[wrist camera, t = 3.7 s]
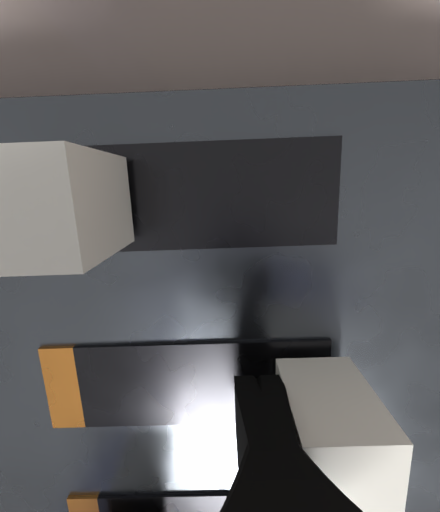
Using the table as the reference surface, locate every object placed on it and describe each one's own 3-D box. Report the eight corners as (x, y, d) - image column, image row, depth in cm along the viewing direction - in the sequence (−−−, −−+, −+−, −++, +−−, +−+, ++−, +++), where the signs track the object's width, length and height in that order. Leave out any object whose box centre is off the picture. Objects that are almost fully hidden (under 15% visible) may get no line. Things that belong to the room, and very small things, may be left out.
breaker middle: (344, 418, 11) (402, 529, 7) (275, 420, 11) (300, 531, 7) (348, 356, 10) (413, 445, 7) (275, 358, 10) (302, 447, 7)
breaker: (134, 240, 9) (83, 274, 6) (55, 243, 9) (-42, 278, 6) (126, 157, 9) (63, 140, 5) (42, 160, 9) (-73, 146, 5)
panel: (410, 504, 16) (454, 579, 13) (44, 511, 16) (3, 586, 13) (465, 101, 11) (550, 73, 8) (-40, 122, 12) (-128, 102, 9)
